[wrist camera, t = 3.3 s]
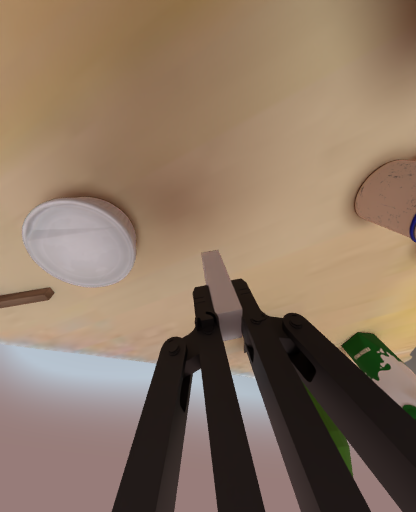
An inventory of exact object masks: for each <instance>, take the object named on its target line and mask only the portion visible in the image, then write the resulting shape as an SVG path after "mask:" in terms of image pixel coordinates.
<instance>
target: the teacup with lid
mask: <svg viewBox="0 0 416 512" xmlns="http://www.w3.org/2000/svg"><path fill="white" fill-rule="evenodd" d="M355 209H356V212H357V214H358V215H359V216H360V217H361V218H363V219H366V220H368V221H371V222H373V223H375V224H378V225H380V226H383V227H385V228H388V229H390V230H392V231H395V232H397V233H400V234H402V235H404V236H407V237H409V238H411V239H412V240H413V241H414V242H416V161H409V160H397V161H393V162H390V163H387V164H385V165H384V166H382V167H380V168H379V169H377V170H376V171H375V172H374V173H373V174H371V175H370V176H369V177H368V179H367V180H366V181H365V182H364V184H363V185H362V187H361V188H360V190H359V192H358V194H357V197H356V201H355Z"/></svg>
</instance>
